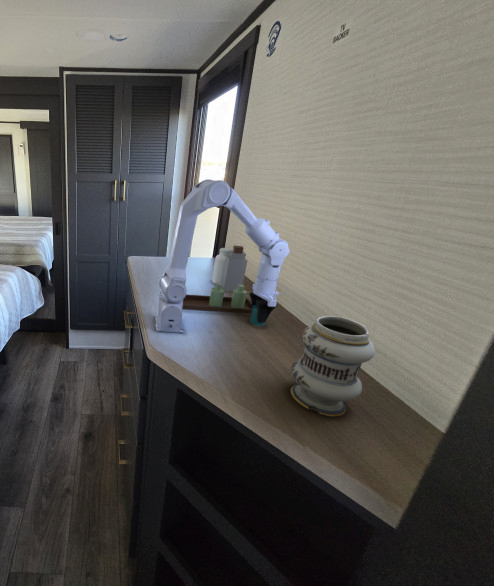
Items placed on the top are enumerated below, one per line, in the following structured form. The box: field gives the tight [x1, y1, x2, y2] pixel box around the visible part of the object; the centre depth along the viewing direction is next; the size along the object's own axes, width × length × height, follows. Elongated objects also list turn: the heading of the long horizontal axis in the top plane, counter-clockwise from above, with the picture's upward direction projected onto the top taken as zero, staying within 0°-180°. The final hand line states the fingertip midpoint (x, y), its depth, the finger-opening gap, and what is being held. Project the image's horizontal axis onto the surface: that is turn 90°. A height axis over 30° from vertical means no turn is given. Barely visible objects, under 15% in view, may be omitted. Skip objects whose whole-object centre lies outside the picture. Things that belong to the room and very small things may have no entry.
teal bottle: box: [249, 305, 267, 327], centre depth 97 cm, size 4×4×8 cm
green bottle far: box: [230, 284, 248, 308], centre depth 108 cm, size 4×4×8 cm
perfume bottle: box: [221, 245, 248, 292], centre depth 125 cm, size 7×7×18 cm
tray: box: [182, 294, 252, 315], centre depth 111 cm, size 11×26×2 cm, turn 83°
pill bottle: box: [211, 247, 233, 285], centre depth 133 cm, size 8×8×15 cm
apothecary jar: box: [290, 315, 376, 417], centre depth 63 cm, size 12×12×18 cm
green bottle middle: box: [209, 283, 225, 307], centre depth 109 cm, size 4×4×8 cm
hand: (258, 318), depth 98 cm, fingers closed on teal bottle, 4 cm apart
